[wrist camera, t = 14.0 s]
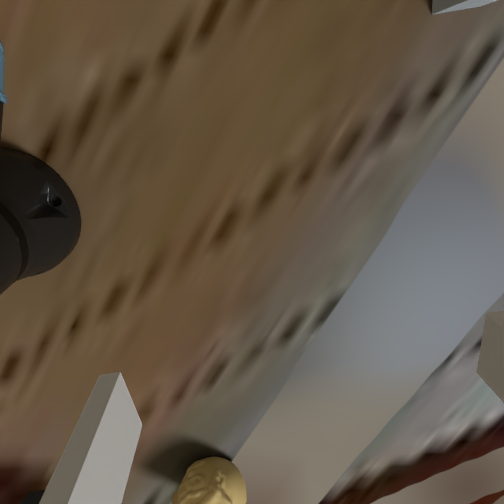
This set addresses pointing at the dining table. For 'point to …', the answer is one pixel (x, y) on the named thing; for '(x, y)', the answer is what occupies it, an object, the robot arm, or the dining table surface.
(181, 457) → the dining table surface
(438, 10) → the grey board
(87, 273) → the dining table surface
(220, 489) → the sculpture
